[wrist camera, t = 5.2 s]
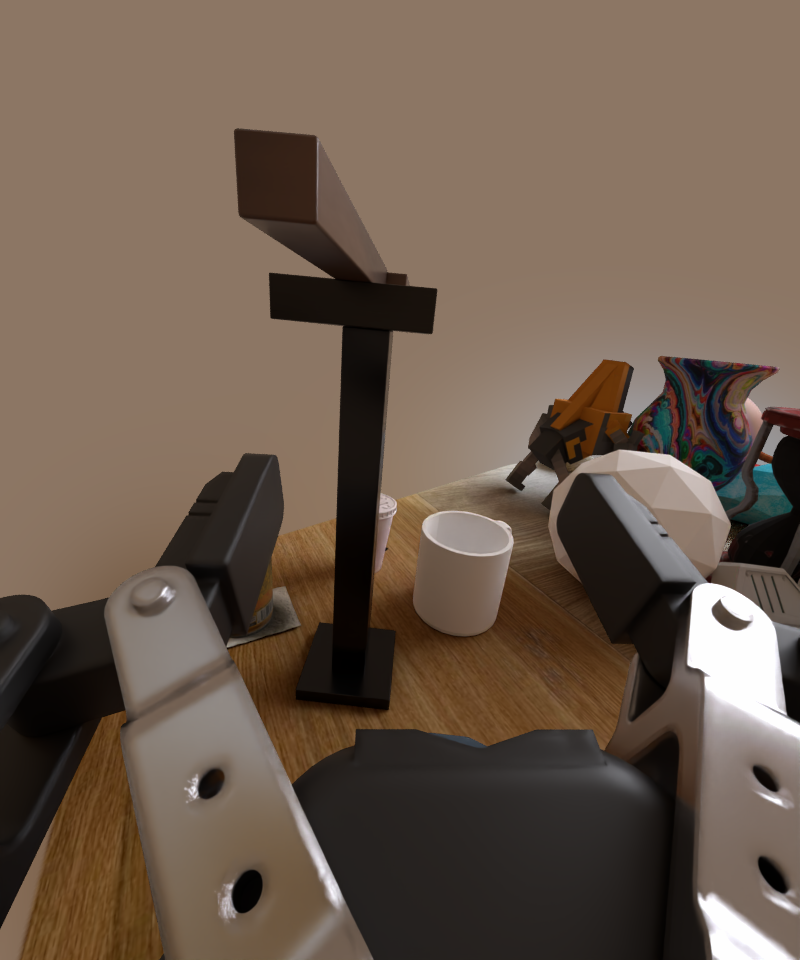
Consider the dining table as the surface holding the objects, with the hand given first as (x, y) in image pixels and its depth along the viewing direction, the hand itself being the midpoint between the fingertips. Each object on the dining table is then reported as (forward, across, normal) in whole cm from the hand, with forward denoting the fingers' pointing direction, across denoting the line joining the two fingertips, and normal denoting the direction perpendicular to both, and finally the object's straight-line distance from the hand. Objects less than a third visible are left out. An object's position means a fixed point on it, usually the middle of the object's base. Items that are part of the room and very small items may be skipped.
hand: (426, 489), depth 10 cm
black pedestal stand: (+10, +3, +30) cm, 31 cm away
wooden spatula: (+13, +3, -3) cm, 14 cm away
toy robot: (+50, -32, +42) cm, 73 cm away
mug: (+19, -10, +33) cm, 39 cm away
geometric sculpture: (+23, -32, +34) cm, 52 cm away
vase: (+45, -55, +41) cm, 82 cm away
